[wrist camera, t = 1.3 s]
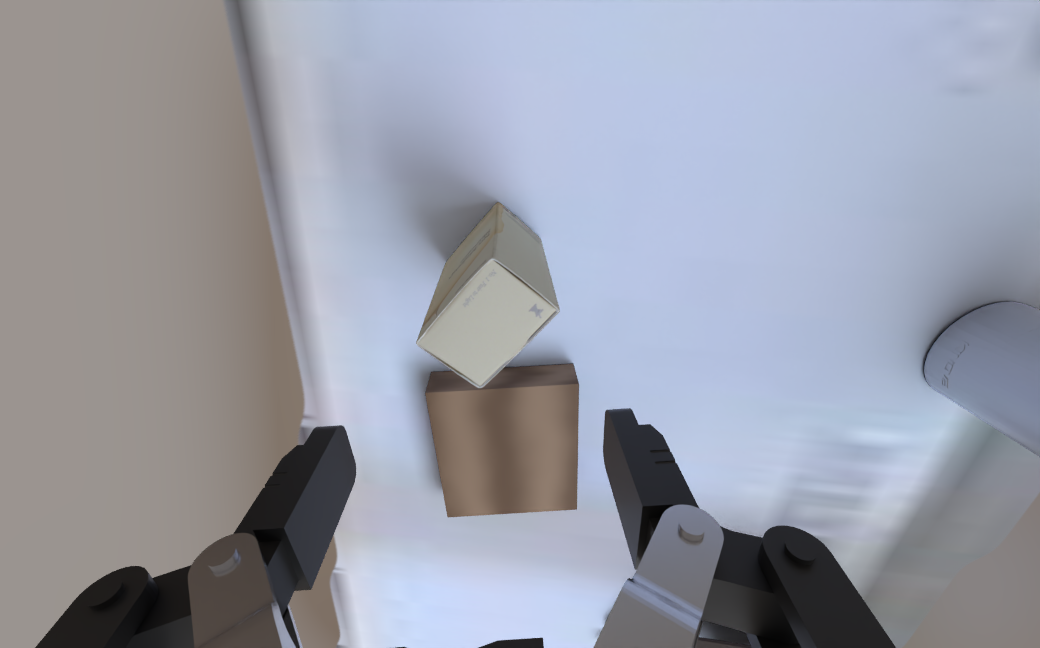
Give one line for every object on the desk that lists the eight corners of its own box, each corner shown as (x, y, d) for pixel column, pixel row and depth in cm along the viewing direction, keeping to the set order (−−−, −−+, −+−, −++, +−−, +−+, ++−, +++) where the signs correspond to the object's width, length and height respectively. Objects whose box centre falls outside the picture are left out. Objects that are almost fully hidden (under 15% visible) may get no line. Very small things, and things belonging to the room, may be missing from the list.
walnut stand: (573, 363, 35) (578, 383, 33) (572, 484, 42) (576, 509, 39) (431, 372, 35) (425, 393, 33) (451, 491, 42) (447, 517, 39)
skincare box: (497, 199, 29) (493, 248, 18) (544, 240, 31) (565, 308, 20) (442, 264, 31) (409, 343, 20) (488, 300, 33) (480, 392, 22)
